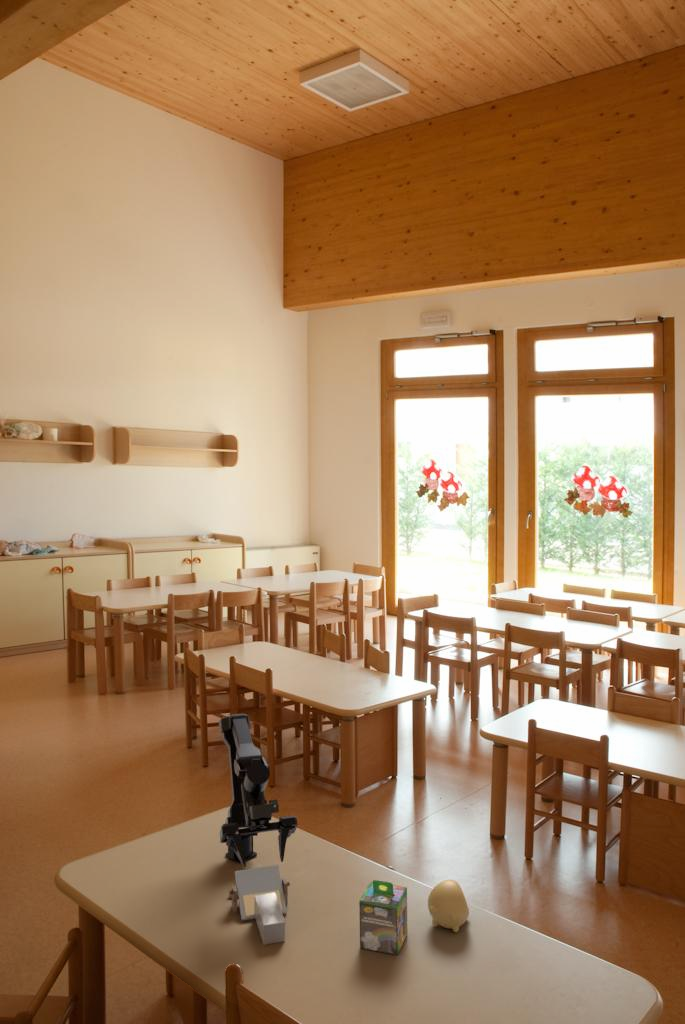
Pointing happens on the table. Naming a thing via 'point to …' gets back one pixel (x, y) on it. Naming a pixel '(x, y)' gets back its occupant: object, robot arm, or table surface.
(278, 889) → the trapdoor
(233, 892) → the trapdoor frame
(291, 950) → the table surface
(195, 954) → the table surface
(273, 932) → the tall grey rectangular block
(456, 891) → the toy pig
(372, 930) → the chalk box
